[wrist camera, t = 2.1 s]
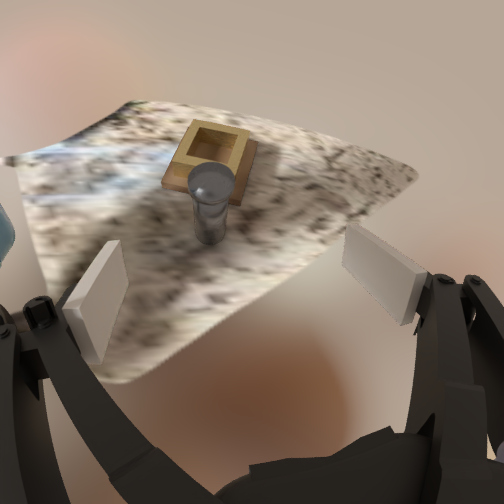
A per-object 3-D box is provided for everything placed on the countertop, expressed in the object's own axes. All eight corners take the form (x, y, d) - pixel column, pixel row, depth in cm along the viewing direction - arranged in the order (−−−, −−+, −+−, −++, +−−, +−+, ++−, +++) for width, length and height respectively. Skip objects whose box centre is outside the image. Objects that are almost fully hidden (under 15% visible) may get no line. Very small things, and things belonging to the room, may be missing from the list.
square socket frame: (174, 175, 39) (171, 160, 36) (193, 134, 43) (193, 119, 40) (233, 189, 40) (235, 175, 36) (247, 145, 43) (250, 130, 40)
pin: (188, 242, 38) (180, 193, 26) (198, 212, 39) (196, 157, 28) (222, 251, 38) (228, 205, 27) (231, 220, 40) (240, 167, 29)
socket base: (162, 187, 40) (161, 181, 39) (188, 132, 45) (188, 126, 43) (239, 206, 41) (240, 200, 39) (256, 147, 45) (258, 141, 44)
